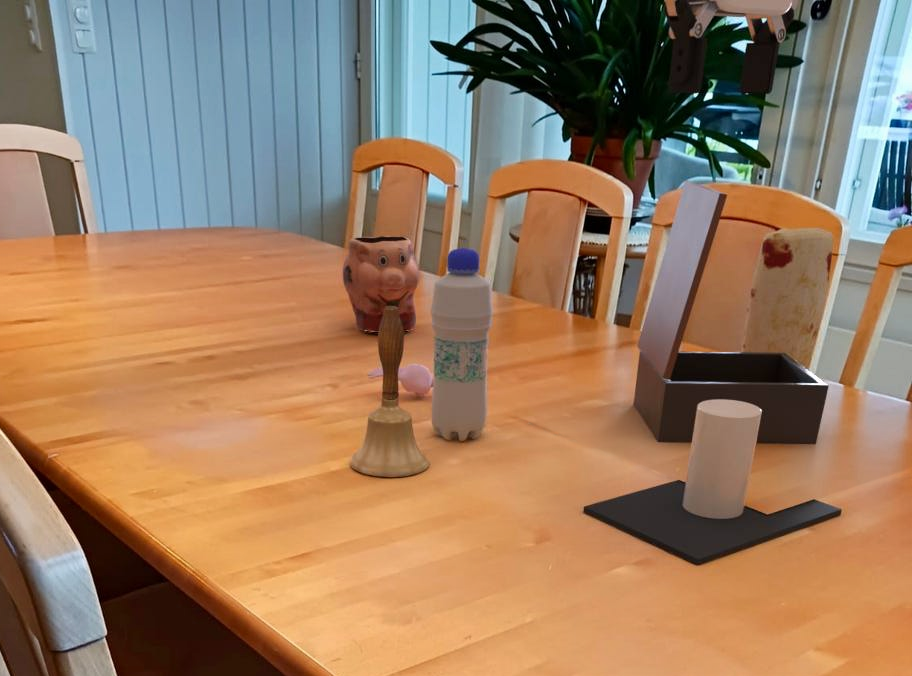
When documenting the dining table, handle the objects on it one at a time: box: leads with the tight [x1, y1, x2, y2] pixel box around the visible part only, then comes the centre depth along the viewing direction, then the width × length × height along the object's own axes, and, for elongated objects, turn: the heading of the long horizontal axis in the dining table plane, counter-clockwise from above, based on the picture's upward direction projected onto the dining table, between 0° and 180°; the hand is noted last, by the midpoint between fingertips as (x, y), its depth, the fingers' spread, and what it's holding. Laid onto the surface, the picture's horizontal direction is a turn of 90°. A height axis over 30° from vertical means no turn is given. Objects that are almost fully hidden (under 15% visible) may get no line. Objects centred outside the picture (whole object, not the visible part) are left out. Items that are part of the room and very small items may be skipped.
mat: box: [583, 479, 843, 566], centre depth 91 cm, size 20×14×1 cm
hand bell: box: [349, 306, 430, 478], centre depth 98 cm, size 8×8×16 cm
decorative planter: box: [342, 235, 421, 332], centre depth 156 cm, size 20×12×14 cm, turn 22°
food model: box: [740, 227, 834, 369], centre depth 126 cm, size 10×7×20 cm
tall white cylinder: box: [682, 399, 762, 519], centre depth 89 cm, size 6×6×10 cm
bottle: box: [430, 247, 494, 442], centre depth 106 cm, size 7×7×20 cm
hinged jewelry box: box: [633, 350, 830, 445], centre depth 112 cm, size 18×15×7 cm
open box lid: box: [636, 180, 728, 379], centre depth 106 cm, size 18×15×1 cm
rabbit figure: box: [366, 363, 434, 398], centre depth 123 cm, size 6×6×15 cm
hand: (720, 93), depth 87 cm, fingers open, 9 cm apart
